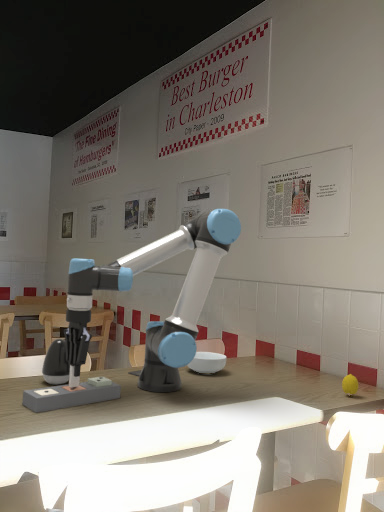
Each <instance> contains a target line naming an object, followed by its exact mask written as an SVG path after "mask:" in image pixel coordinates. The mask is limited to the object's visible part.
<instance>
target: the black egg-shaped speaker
mask: <svg viewBox="0 0 384 512" xmlns="http://www.w3.org/2000/svg"><path fill="white" fill-rule="evenodd" d="M41 373H42V376H43V379H44V381H45V382H46V383H48V385H49V384H50V385H52V386H53V385H55V386H61V385H65V384H66V383H67V382H69V375H70V364H69V361H66V347H65V338H63V339H62V338H56V339H54V340H52V342H51V343H50V345H49V346H48V348H47V351H46V353H45V357H44V360H43V364H42V368H41Z"/></svg>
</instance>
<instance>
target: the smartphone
mask: <svg viewBox="0 0 384 512" xmlns="http://www.w3.org/2000/svg"><path fill="white" fill-rule="evenodd" d="M141 371H142V369H139V370H133V371H129V372H127V374H129V375H132V376H135V377H138V378H139V376H140V374H141Z"/></svg>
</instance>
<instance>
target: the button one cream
mask: <svg viewBox="0 0 384 512" xmlns="http://www.w3.org/2000/svg"><path fill="white" fill-rule="evenodd" d="M33 392H35V393H37V394H38V395H40V396H45V395H52V394H58V393H59V392H57V391H55V390H53V389H44V390H37V391H33Z"/></svg>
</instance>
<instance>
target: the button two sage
mask: <svg viewBox="0 0 384 512" xmlns="http://www.w3.org/2000/svg"><path fill="white" fill-rule="evenodd" d="M86 382H87V384H89V385H91V386H94V387H96V388H97V387H104V386H110V385H112V382H113V380H112V379H109V378H107V377H105V376H97V377H89V378H87V381H86Z"/></svg>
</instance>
